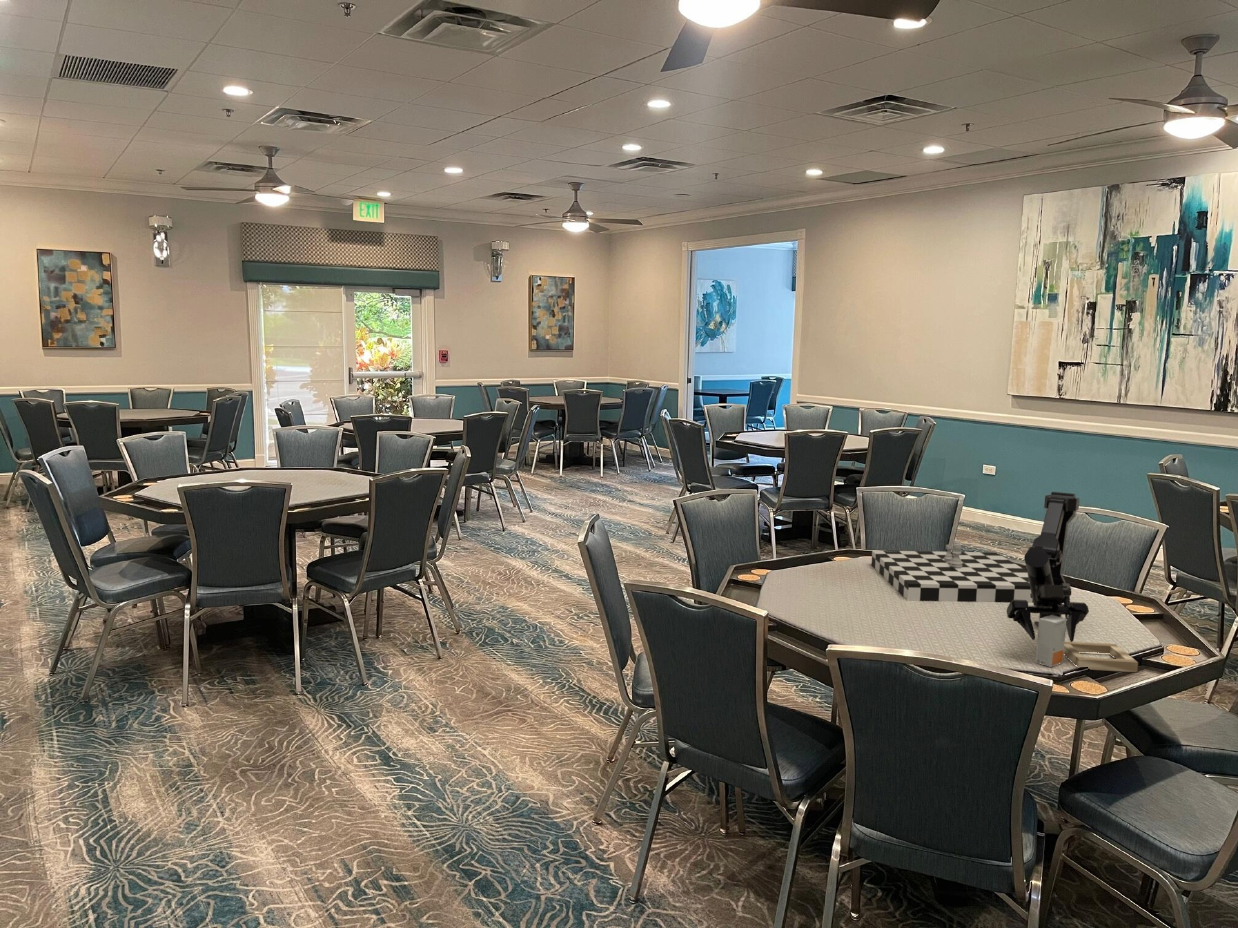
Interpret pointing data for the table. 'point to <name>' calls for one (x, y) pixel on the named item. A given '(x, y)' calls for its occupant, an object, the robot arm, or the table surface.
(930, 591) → the checkerboard
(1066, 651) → the wooden picture frame
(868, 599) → the table surface
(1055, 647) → the skincare box
